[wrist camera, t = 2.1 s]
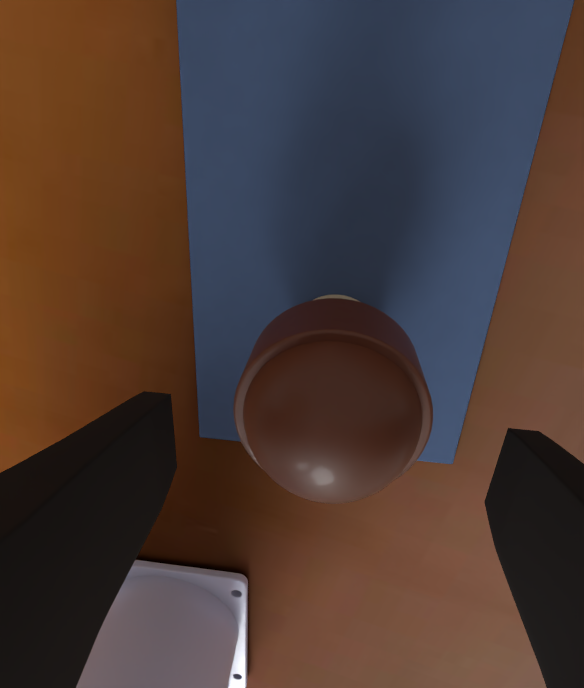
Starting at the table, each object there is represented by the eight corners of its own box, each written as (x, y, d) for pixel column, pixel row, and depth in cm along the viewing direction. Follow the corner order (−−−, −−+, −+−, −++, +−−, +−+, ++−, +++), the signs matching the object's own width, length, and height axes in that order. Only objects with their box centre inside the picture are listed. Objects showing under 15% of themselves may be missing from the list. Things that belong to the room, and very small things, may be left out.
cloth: (450, 457, 17) (452, 464, 17) (202, 431, 18) (199, 437, 18) (657, -344, 9) (671, -365, 8) (163, -331, 9) (156, -349, 9)
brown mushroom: (394, 401, 16) (425, 565, 10) (264, 388, 16) (216, 538, 10) (417, 272, 14) (475, 380, 8) (267, 261, 14) (209, 355, 8)
